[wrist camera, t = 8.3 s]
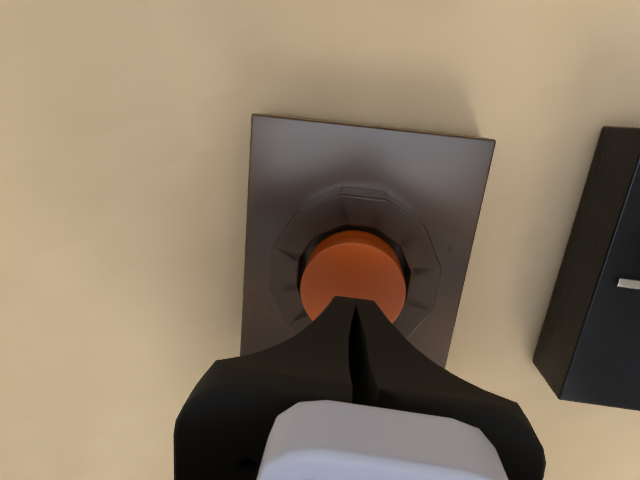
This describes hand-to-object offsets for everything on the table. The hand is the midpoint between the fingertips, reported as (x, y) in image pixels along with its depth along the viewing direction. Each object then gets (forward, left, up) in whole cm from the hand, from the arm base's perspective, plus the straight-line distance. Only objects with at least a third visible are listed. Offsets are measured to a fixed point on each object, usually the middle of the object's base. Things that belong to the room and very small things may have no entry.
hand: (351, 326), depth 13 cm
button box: (0, 0, -8) cm, 8 cm away
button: (0, 0, -4) cm, 4 cm away
